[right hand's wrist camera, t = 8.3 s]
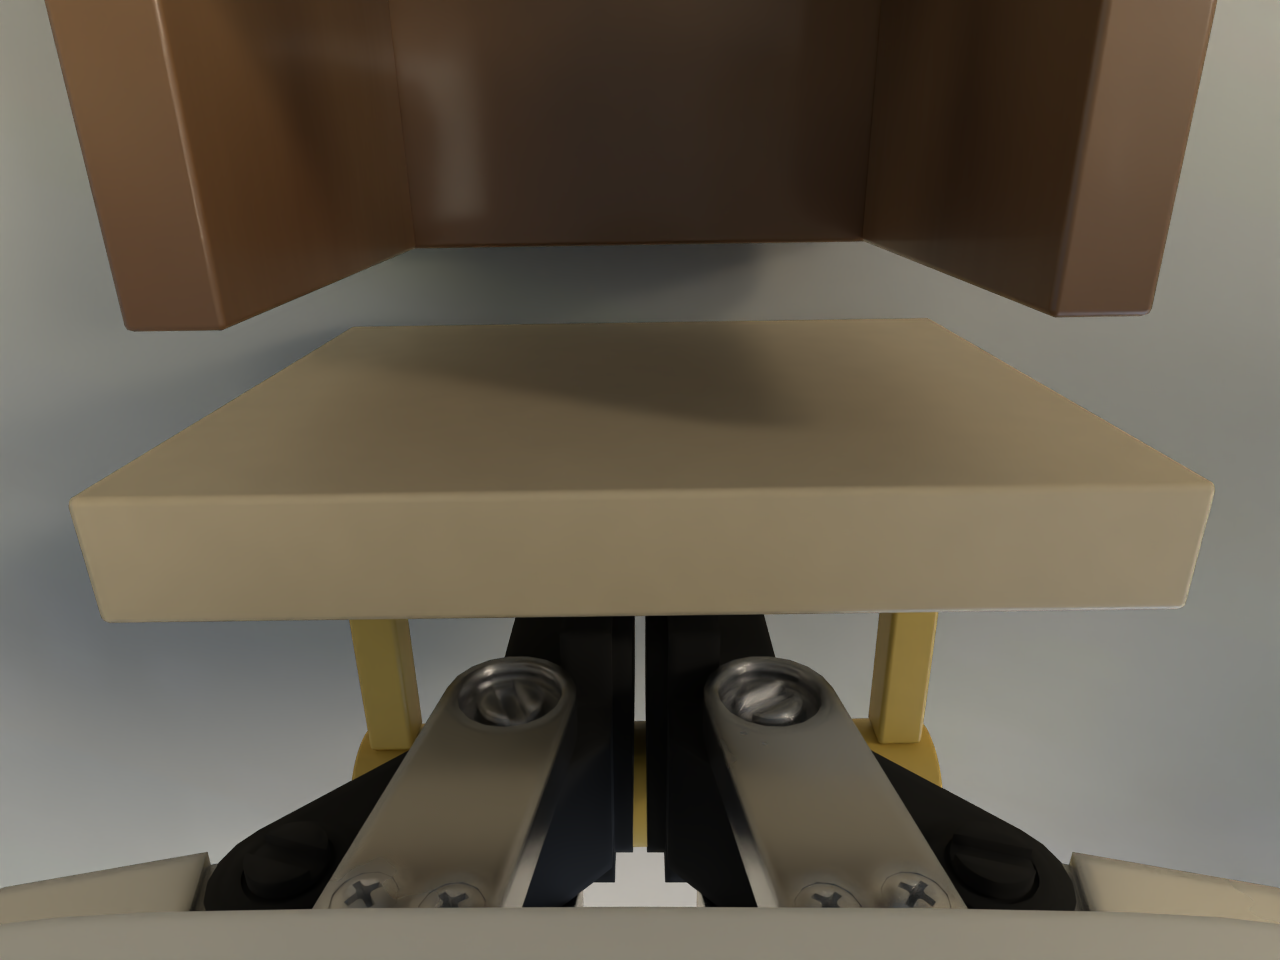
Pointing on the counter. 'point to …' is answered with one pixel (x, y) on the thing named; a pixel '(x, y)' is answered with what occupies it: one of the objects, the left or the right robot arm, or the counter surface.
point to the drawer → (635, 352)
